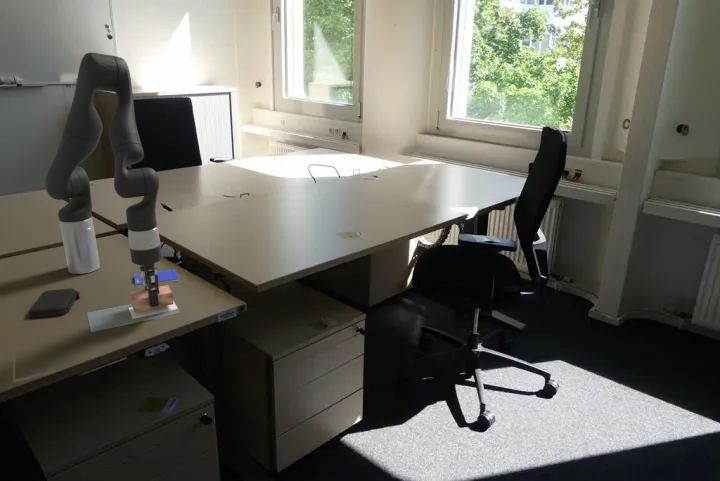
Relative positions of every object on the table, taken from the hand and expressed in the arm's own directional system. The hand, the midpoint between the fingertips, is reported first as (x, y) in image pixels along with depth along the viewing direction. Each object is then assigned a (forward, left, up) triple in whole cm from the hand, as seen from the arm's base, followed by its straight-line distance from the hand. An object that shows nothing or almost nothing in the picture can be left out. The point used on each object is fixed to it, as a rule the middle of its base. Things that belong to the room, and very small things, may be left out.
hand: (152, 301), depth 145 cm
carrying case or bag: (-15, -23, -3) cm, 27 cm away
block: (0, 0, -1) cm, 1 cm away
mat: (0, -5, -3) cm, 6 cm away
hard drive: (-22, +5, -4) cm, 23 cm away
